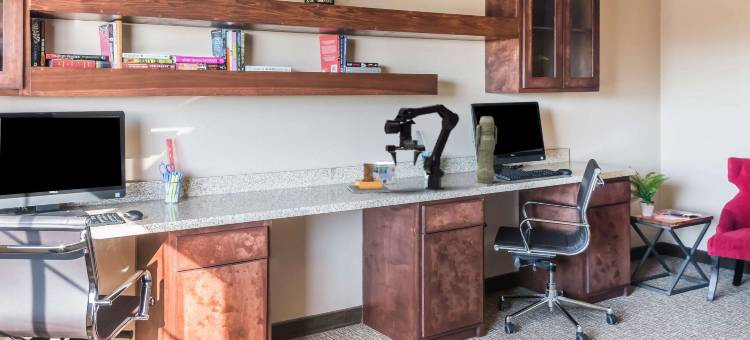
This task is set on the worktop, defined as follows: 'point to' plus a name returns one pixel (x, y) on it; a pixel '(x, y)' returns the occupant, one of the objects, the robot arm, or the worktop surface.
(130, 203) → the worktop surface
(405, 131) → the robot arm
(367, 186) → the square socket
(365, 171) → the tan square block
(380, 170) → the light bulb box
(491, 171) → the stone statue
